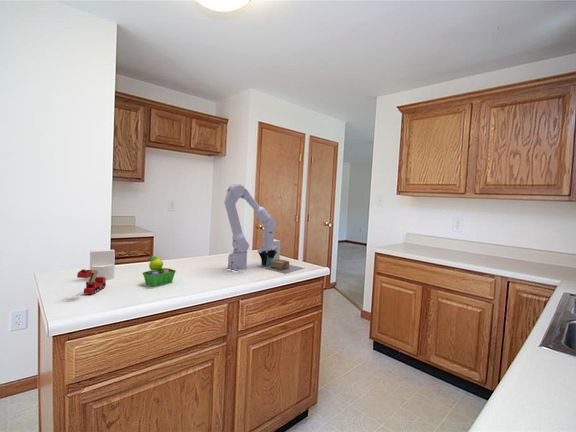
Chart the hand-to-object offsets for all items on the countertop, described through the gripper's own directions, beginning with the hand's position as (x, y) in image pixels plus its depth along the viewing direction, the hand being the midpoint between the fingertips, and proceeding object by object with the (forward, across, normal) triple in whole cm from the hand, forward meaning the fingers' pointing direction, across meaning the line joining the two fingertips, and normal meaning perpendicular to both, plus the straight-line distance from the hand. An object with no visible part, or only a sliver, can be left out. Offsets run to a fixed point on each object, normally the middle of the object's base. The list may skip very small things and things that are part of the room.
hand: (267, 264), depth 167 cm
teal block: (+1, 0, 0) cm, 1 cm away
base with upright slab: (+2, -70, +33) cm, 77 cm away
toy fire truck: (+2, -80, +16) cm, 82 cm away
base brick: (+1, 0, -9) cm, 9 cm away
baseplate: (+1, +2, -11) cm, 11 cm away
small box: (+2, +12, +7) cm, 14 cm away
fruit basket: (+2, -57, +11) cm, 58 cm away
